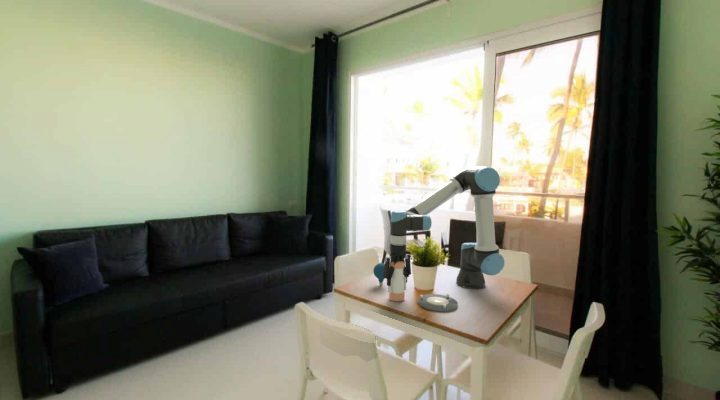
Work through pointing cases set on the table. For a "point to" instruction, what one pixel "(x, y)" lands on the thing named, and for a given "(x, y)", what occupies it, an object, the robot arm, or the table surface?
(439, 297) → the stud plate
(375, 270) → the light bulb
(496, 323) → the table surface
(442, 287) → the table surface
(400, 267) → the pepper shaker
